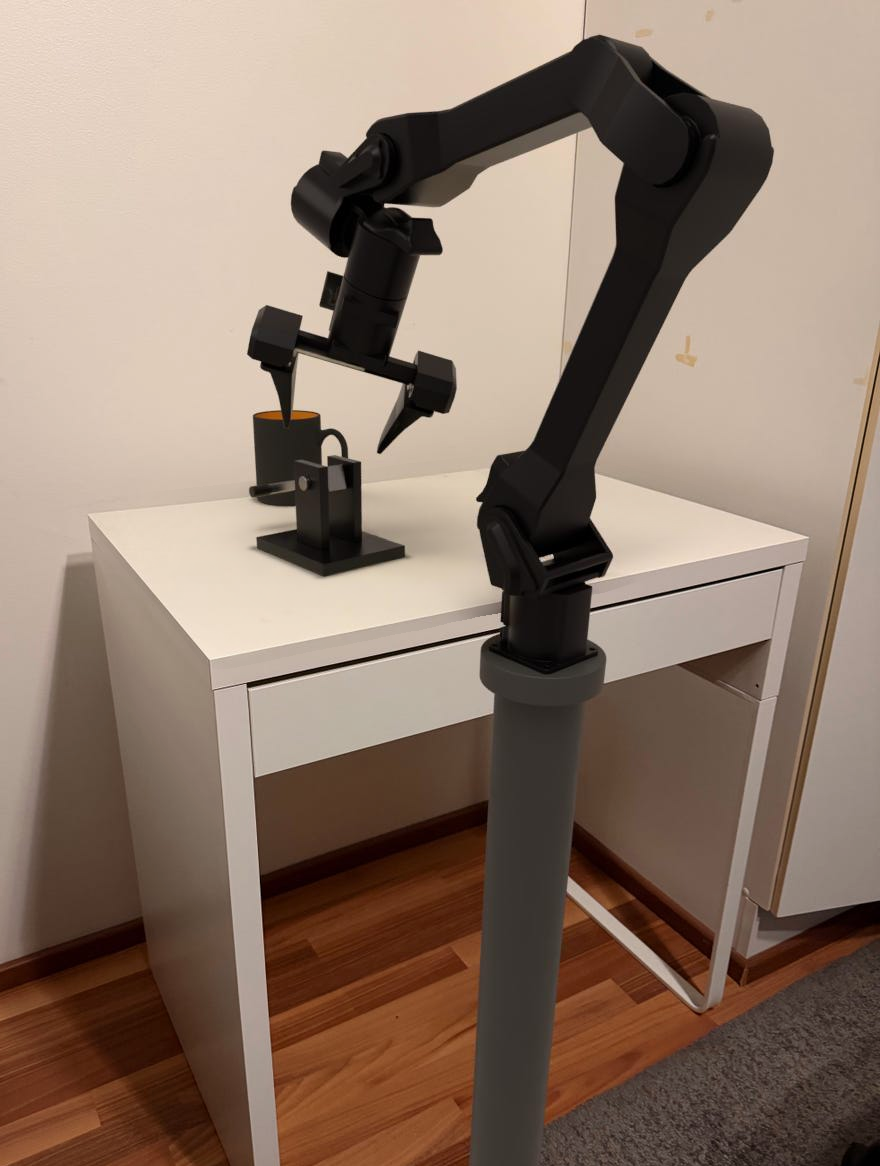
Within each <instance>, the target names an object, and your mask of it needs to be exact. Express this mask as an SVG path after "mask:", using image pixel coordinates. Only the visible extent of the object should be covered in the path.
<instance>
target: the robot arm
mask: <svg viewBox="0 0 880 1166" xmlns="http://www.w3.org/2000/svg"><path fill="white" fill-rule="evenodd" d="M591 128H592V130H593V131H594V133H595V135H596V137H597V139H598V140H599V142H600V143H601V144H602V145H603V146H604V147H605V148H606V149H607V150H608V151H609V152H610V153H612V154H613V155H614V157H616V158H617V159H618V160H619V161H620V162H622V166H621V171H620V175H619V178H618V182H617V185H616V189H615V193H614V220H615V245H614V249H613V253H612V256H611V258H610V261H609V263H608V265H607V268H606V270H605V273H604V275H603V276H602V279H601V282H600V284H599V286H598V288H597V291H596V293H595V295H594V298H593V300H592V303H591V305H590V307H589V310H588V312H587V314H586V317H585V319H584V321H583V324H582V326H581V327H580V330H579V333H578V335H577V338H576V340H575V342H574V345H573V346H572V349H571V351H570V354H569V356H568V359H567V361H566V364H565V366H564V367H563V370H562V373H561V375H560V376H559V377H560V378H559V379H558V381H557V384H556V386H555V389H554V391H553V394H552V396H551V398H550V401H549V403H548V406H547V408H546V410H545V412H544V414H543V417H542V418H541V421H540V424H539V426H538V429H537V431H536V433H535V436H534V438H533V440H532V442H531V443H530V445H528V447H526V449H525V450H521V451H520V450H519V451H514V452H513V451H512V452H508V453H503V454H497V455H496V456H495V458H494V460H493V462H492V463H491V465H490V467H489V473H488V476H487V480H486V484H485V485H484V487H483V489H482V491H481V492H480V493H479V494H478V495H477V496H476V497H475V501H476V503H480V504H481V505H480V506H479V508H478V512H477V516H476V528H477V530H479V537H480V542H481V547H482V551H483V555H484V560H485V565H486V569H487V574H488V578H489V579H488V580H489V583H490V585H491V586H492V587H496V588H499V589H501V591H502V592H501V602H500V620H499V621H500V623H502V625H503V626H500V628H499V634H500V637H501V638H502V640H499V641H496V642H493V643H490V644H489V648H488V650H489V651H490V652H493V653H495V654H497V655H500V656H502V657H504V658H507V659H509V660H511V661H514V662H516V663H518V664H521V665H523V666H525V667H528V668H530V669H532V670H534V671H537V672H539V673H541V674H545V675H549V674H552V673H555V672H557V671H560V670H562V669H565V668H568V667H570V666H573V665H575V664H578V663H580V662H583V661H585V660H588V659H590V658H593V657H595V656H597V655H598V650H599V649H598V648H595V647H593V646H590V645H588V644H587V639H588V638H589V628H590V627H589V626H590V618H591V617H590V616H591V605H592V595H593V586H592V585H591V584H587V583H586V582H590V581H591V580H594V579H601V578H604V577H605V576H606V574H607V573H608V570H609V568H610V566H611V563H612V561H613V558H614V554H613V552H612V550H611V549H610V547H609V546H608V545H607V544H608V543H607V542H606V541H605V539H604V537H603V536H602V535H601V533H600V531H599V530H598V528H597V526H596V525H595V523H594V522H593V520H592V519H591V516H592V512H593V510H594V507H595V504H596V500H597V484H596V470H595V468H596V464H597V461H598V460H599V459H598V458H599V456H600V455H601V452H602V450H603V449H604V446H605V445H606V442H607V440H608V438H609V436H610V434H611V432H612V430H613V428H614V426H615V424H616V422H617V420H618V418H619V416H620V414H621V411H622V410H623V407H624V405H625V403H626V401H627V399H628V398H629V395H630V393H631V391H632V389H633V387H634V385H635V383H636V381H637V379H638V377H639V375H640V373H641V371H642V369H643V367H644V365H645V363H646V360H647V358H648V356H649V355H650V353H651V350H652V348H653V347H654V344H655V342H656V340H657V338H658V336H659V334H660V333H661V330H662V328H663V326H664V324H665V322H666V320H667V318H668V316H669V314H670V312H671V310H672V307H673V305H674V303H675V302H676V299H677V297H678V295H679V293H680V291H681V289H682V287H683V285H684V283H685V281H686V279H687V278H688V276H689V275H690V273H691V272H692V271H693V270H694V269H695V268H696V267H697V266H698V265H699V264H700V263H701V262H702V261H703V260H704V259H705V258H706V257H707V256H708V255H709V254H710V253H711V252H712V251H713V250H714V249H715V248H716V247H717V246H718V245H719V244H720V243H721V242H722V241H723V240H725V239H726V237H728V236H729V234H731V232H732V231H733V230H734V228H735V226H736V225H737V224H738V223H739V221H740V219H741V218H742V216H743V215H744V214H745V212H746V211H747V209H748V208H749V206H750V205H751V204H752V202H753V201H754V199H755V198H756V196H757V195H758V193H759V192H760V191H761V190H762V187H763V186H764V184H765V183H766V181H767V179H768V178H769V174H770V171H771V169H772V165H773V162H774V155H775V149H774V147H773V144H772V139H771V134H770V128H769V127H768V125H767V123H766V122H765V120H764V118H763V117H762V115H760V114H759V113H758V112H756V111H755V110H753V109H752V108H750V107H746V106H742V105H738V104H734V103H730V102H726V101H723V100H719V99H714V98H711V97H710V96H708V95H707V94H705V93H704V92H703V91H701V90H699V89H698V88H696V87H694V86H693V85H691V84H689V83H688V82H687V81H685V80H684V79H682V78H680V77H679V76H677V75H676V74H674V73H673V72H671V71H669V70H668V69H666V67H664V66H663V65H661V64H660V62H658V61H657V60H655V59H654V58H653V57H652V56H651V55H650V54H649V52H648V51H647V50H646V49H645V48H644V47H643V46H640V45H637V44H633V43H631V42H627V41H623V40H620V39H617V38H613V37H609V36H607V35H603V34H596V35H591V36H589V37H587V38H583V39H582V40H581V41H580V42H578V43H577V44H575V45H574V47H573V48H572V49H571V50H570V51H567V52H566V53H564V54H561V55H560V56H557V57H555V58H553V59H552V60H549V61H547V62H545V63H543V64H541V65H538V66H536V67H535V68H533V69H531V70H528V71H526V72H523V73H522V74H520V75H518V76H516V77H514V78H512V79H509V80H507V81H506V82H503V83H501V84H500V85H497V86H495V87H493V88H491V89H489V90H487V91H485V92H483V93H481V94H479V95H476V96H474V97H473V98H470V99H468V100H466V101H464V102H462V103H460V104H457V105H455V106H453V107H452V108H447V109H443V110H435V111H434V110H433V111H416V112H405V113H401V114H396V115H390V116H386V117H381V118H378V119H377V120H376V121H374V122H373V123H372V124H371V125H370V126H369V128H368V129H367V131H366V132H365V137H366V138H364V140H363V141H362V142H361V143H360V144H359V145H358V146H357V148H355V150H354V151H353V152H352V153H351V154H350V155H349V156H346V155H345V154H343V153H342V152H340V151H331V150H322V151H321V152H320V157H319V159H318V160H319V161H318V163H317V164H315V165H314V166H312V167H310V168H309V169H307V171H305V172H304V173H303V174H302V176H301V177H300V178H299V179H298V181H297V183H296V185H295V186H294V187H293V188H292V191H291V195H290V210H291V213H292V216H293V218H294V220H295V221H296V223H297V224H298V225H300V226H301V227H302V228H303V229H305V231H306V232H308V233H309V234H310V235H311V236H313V237H314V238H315V239H316V240H317V241H319V243H321V244H322V245H323V246H324V247H325V248H327V249H328V250H329V251H330V252H331V253H333V254H334V255H335V256H337V257H340V258H343V259H347V260H346V265H345V268H344V272H343V275H341V274H339V273H335V272H332V271H329V270H327V271H326V275H325V280H324V283H323V288H322V292H321V296H320V301H319V303H318V304H319V305H318V306H319V307H320V308H323V309H326V310H329V311H332V315H331V319H330V322H329V326H328V327H329V328H328V331H329V332H328V336H327V337H325V336H322V335H319V334H315V333H312V332H309V331H305V330H302V329H301V327H302V322H303V317H304V316H303V315H302V314H298V313H294V312H291V311H289V310H285V309H282V308H278V307H275V306H272V305H268V304H265V305H264V306H263V307H261V308H259V309H258V311H257V314H256V317H255V319H254V322H253V325H252V327H251V332H250V336H249V341H248V346H247V351H246V355H247V356H248V357H249V358H250V359H251V360H254V361H258V362H260V365H259V368H260V369H261V370H262V371H264V372H267V373H269V374H270V376H271V379H272V382H273V385H274V388H275V391H276V394H277V397H278V402H279V407H280V410H281V413H282V418H283V424H284V428H287V429H288V428H289V424H290V419H291V415H292V411H293V410H294V401H295V390H296V380H297V369H298V362H299V354H300V355H303V356H306V357H307V356H308V357H310V358H314V359H318V360H321V361H323V362H328V363H331V364H335V365H338V366H342V367H344V368H348V369H352V370H355V371H359V372H362V373H365V374H368V375H372V376H375V377H378V378H383V379H386V380H390V381H393V382H396V383H399V384H401V388H400V390H399V394H398V396H397V399H396V401H395V403H394V405H393V407H392V409H391V413H390V414H389V416H388V419H387V421H386V423H385V425H384V427H383V430H382V432H381V434H380V437H379V440H378V444H377V448H376V454H378V455H382V453H383V452H384V451H386V450H387V448H389V446H390V445H391V444H392V443H394V442H395V440H396V439H397V438H398V437H399V436H400V435H401V434H402V433H403V432H404V431H405V430H407V429H408V428H409V427H410V426H412V425H413V424H414V423H416V422H417V421H418V420H420V419H421V418H433V416H434V413H438V414H442V415H445V414H450V412H451V409H452V406H453V403H454V400H455V398H456V394H457V389H458V383H457V382H458V381H457V368H456V365H455V363H454V361H453V360H451V359H449V358H444V357H441V356H438V355H435V354H431V353H429V352H425V351H421V350H417V352H416V353H415V355H414V358H413V361H412V362H410V361H406V360H403V359H400V358H396V357H393V356H390V355H391V352H392V350H393V346H394V343H395V340H396V336H397V333H398V330H399V326H400V323H401V319H402V317H403V313H404V310H405V308H406V304H407V300H408V297H409V294H410V290H411V287H412V285H413V284H412V283H413V280H414V277H415V274H416V270H417V268H418V264H419V261H420V258H421V256H441V255H442V254H443V252H444V251H443V250H444V248H443V244H442V242H441V241H442V240H441V238H440V236H439V235H438V234H437V232H436V230H435V227H434V221H433V219H432V218H431V217H412V216H411V214H410V213H407V212H406V211H405V210H404V209H401V208H399V207H393V206H389V207H385V205H397V206H398V205H399V206H408V207H409V206H410V207H423V208H424V207H425V208H441V207H443V206H445V205H447V204H448V203H450V202H451V201H453V200H454V199H456V198H457V197H459V196H460V195H462V194H463V193H465V192H467V191H468V190H469V189H470V188H471V187H472V185H473V184H474V183H475V180H476V179H477V178H478V176H479V175H481V173H483V172H485V171H486V170H488V169H489V168H491V167H493V166H496V165H499V164H501V163H504V162H506V161H509V160H512V159H514V158H517V157H519V156H521V155H524V154H527V153H529V152H532V151H535V150H537V149H540V148H542V147H545V146H547V145H549V144H553V143H556V142H557V141H560V140H563V139H565V138H568V137H570V136H573V135H576V134H578V133H580V132H583V131H585V130H588V129H591ZM551 555H552V557H553V558H550V559H547V560H544V561H542V560H541V558H544V557H548V556H551Z"/></svg>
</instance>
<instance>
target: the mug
mask: <svg viewBox="0 0 880 1166" xmlns="http://www.w3.org/2000/svg"><path fill="white" fill-rule="evenodd" d="M321 417H322V416H321V414H320V413H319V412H316V411H310V410H301V409H300V410H297V409H293V411H292V415H291V419H290V424H289V428H288V429H287V428H284V424H283V418H282V413H281V409H279V410H278V409H277V410H265V411H260V412H259V411H258V412H256V413H254V414H253V415H252V428H253V445H254V446H253V447H254V448H253V449H254V464H255V482H256V483H255V484H256V486H257V485H263V484H269V483H276V482H282V481H289V480H290V481H292V480H295V476H294V461H297V460H305V461H308V462H312V463H316V464H320V465H323V454H322V453H323V451H322V446H323V443H324V441H325V439H326V438H328V437H329V436H333V437H335V438H336V439H337V441H338V442H339V445H340V449H341V450H340V451H341V452H340V453H341V457H345V458H349V446H348V442H347V440H346V438H345V436H344V434H342V432H341V431H339V430H338V429H335V428H332V427H331V428H326V429H322V420H321ZM256 498H257V500H258V501H259V502H260V503H262V504H265V505H270V506H282V507H284V506H285V507H291V506H293V507H294V506H295V507H296V501H295V490H293V491H290V492H284V493H278V494H272V495H266V496H260V497H256Z"/></svg>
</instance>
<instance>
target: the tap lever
mask: <svg viewBox="0 0 880 1166" xmlns="http://www.w3.org/2000/svg"><path fill="white" fill-rule="evenodd" d="M343 489H347V487H346V481H345V475H344V470H343V465H335V466H329V467H328V492H332V491H338V490H343ZM293 490H295V480H292V481H290V480H289V481H282V482H276V483H269V484H263V485H257V484H256V485H252V486H250V487H249V488H248V494H249V496H250V497H251V498H257V497H260V496H266V495H272V494H278V493H284V492H290V491H293Z"/></svg>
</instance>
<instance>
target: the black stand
mask: <svg viewBox="0 0 880 1166" xmlns="http://www.w3.org/2000/svg"><path fill="white" fill-rule="evenodd" d="M326 461H327V462H326V463H327V465H324V464H322V465H320V464H316V463H312V462H308V461H305V460H297V461H294V476H295V501H296V505H295V518H296V519H295V520H296V523H295V525H296V528H294V529H289V530H285V531H280V532H275V533H269V534H264V535H260V536H256V541H255V542H256V548H257V549H258V550H261V551H263V552H266V553H268V554H270V555H273V556H274V557H277V558H279V559H282V560H284V561H286V562H289V563H291V564H293V565H296V566H298V567H301V568H302V569H305V570H308V571H310V572H312V573H314V574H317V575H320V576H322V577H327V576H330V575H336V574H339V573H340V574H341V573H344V572H349V571H353V570H357V569H361V568H365V567H368V566H372V565H377V564H380V563H384V562H385V563H386V562H389V561H390V562H391V561H393V560H398V559H402V558H405V557H406V545H404V544H401V543H399V542H395V541H393V540H390V539H387V538H384V537H381V536H378V535H376V534H373V533H369V532H366V531H364V530H363V507H362V506H363V498H362V497H363V495H362V461H360V460H356V459H352V458H349V457H348V458H345V457H342V455H341V456H340V455H336V454H333V455H327V456H326ZM335 465H343V470H344V475H345V481H346V487H347V489H343V490H338V491H332V492H328V467H329V466H335Z"/></svg>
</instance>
